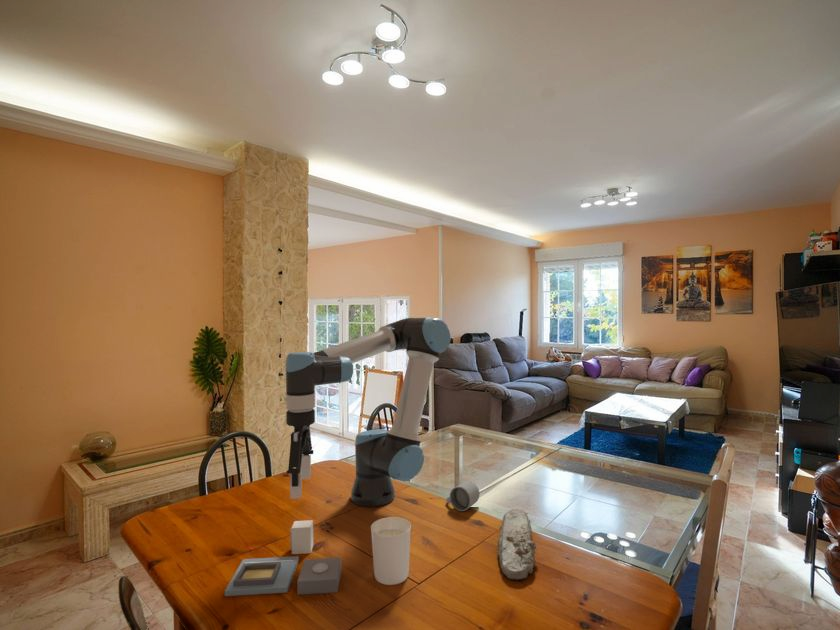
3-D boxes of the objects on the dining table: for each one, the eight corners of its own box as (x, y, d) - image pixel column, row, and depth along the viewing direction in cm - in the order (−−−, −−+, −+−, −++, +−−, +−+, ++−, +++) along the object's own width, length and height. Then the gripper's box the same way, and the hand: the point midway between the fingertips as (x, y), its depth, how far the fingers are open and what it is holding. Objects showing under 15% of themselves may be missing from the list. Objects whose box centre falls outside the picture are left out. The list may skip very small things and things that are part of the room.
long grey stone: (533, 522, 137) (500, 521, 139) (532, 505, 137) (499, 504, 139) (539, 584, 102) (496, 582, 104) (537, 561, 103) (494, 559, 105)
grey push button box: (341, 569, 110) (341, 555, 110) (337, 592, 101) (337, 577, 101) (304, 571, 109) (304, 557, 109) (297, 594, 100) (297, 579, 100)
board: (298, 560, 114) (298, 551, 114) (287, 592, 101) (287, 582, 101) (243, 563, 113) (243, 554, 113) (224, 596, 100) (224, 585, 100)
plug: (313, 545, 122) (312, 520, 122) (310, 553, 118) (310, 527, 118) (292, 546, 121) (291, 521, 121) (288, 554, 117) (288, 528, 117)
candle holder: (417, 567, 110) (416, 519, 110) (402, 590, 101) (402, 538, 101) (381, 560, 114) (380, 514, 114) (364, 582, 104) (363, 532, 104)
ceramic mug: (481, 504, 146) (480, 481, 146) (470, 513, 140) (469, 489, 140) (453, 498, 152) (452, 475, 152) (441, 506, 145) (440, 483, 145)
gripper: (296, 400, 132) (296, 471, 132) (274, 420, 107) (275, 507, 107) (321, 400, 132) (322, 470, 132) (306, 419, 107) (306, 506, 107)
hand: (301, 487), depth 119 cm, fingers open, 13 cm apart
